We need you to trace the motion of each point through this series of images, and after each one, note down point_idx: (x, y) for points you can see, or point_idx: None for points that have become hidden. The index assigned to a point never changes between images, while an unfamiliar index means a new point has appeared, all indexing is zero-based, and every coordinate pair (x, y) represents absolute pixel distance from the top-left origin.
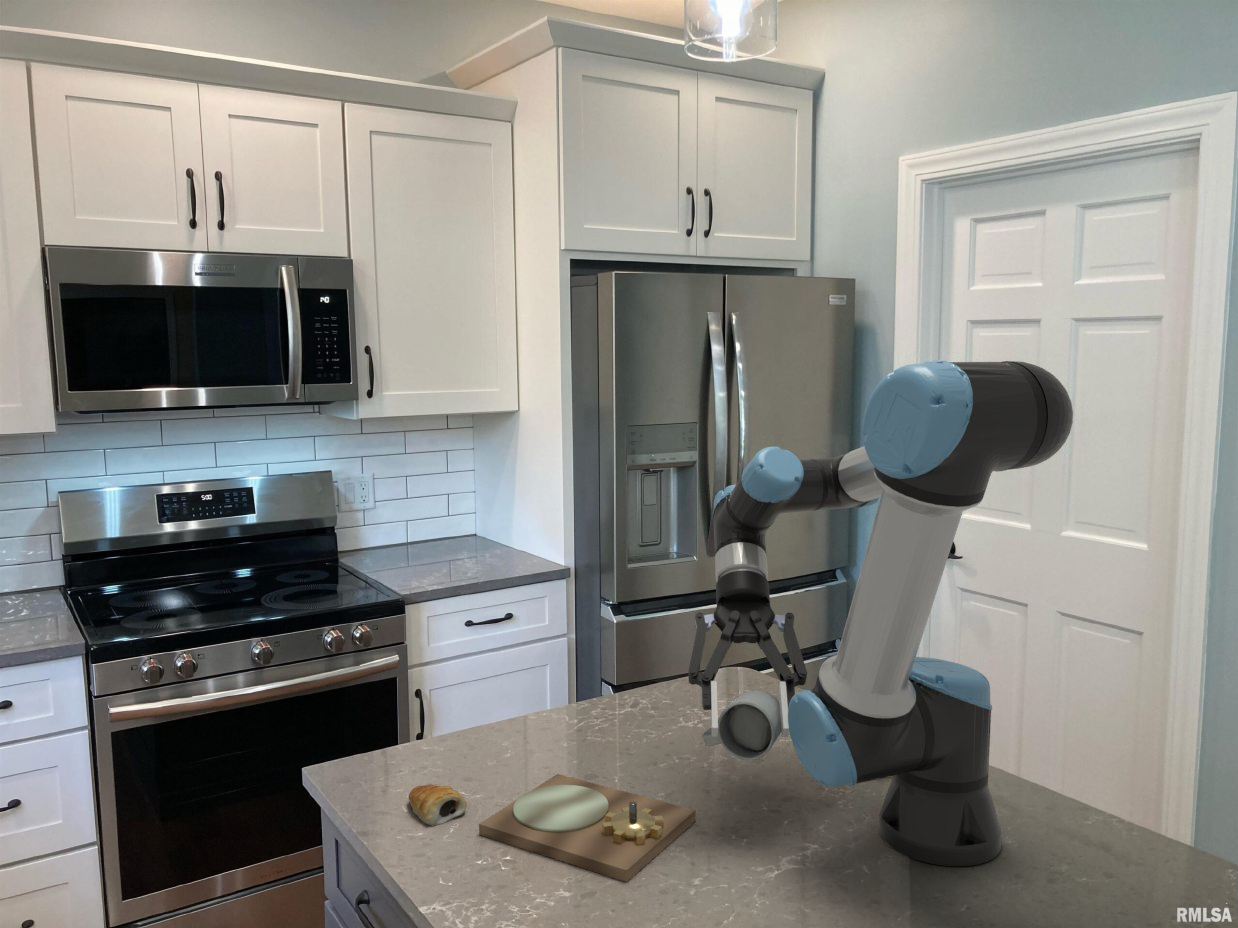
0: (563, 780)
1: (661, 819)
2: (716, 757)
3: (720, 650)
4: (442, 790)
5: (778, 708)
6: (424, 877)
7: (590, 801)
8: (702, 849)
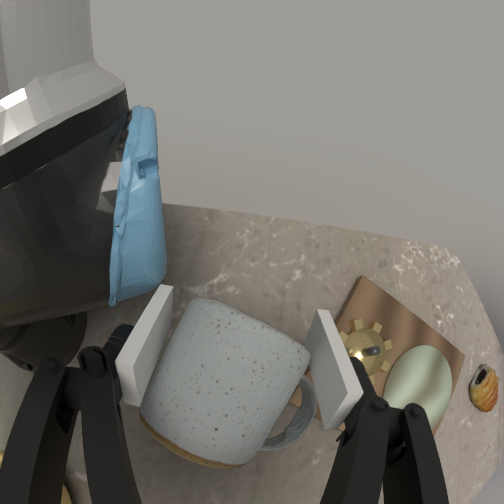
0: None
1: None
2: None
3: (357, 496)
4: (490, 386)
5: (155, 379)
6: (469, 295)
7: (399, 405)
8: (285, 334)
